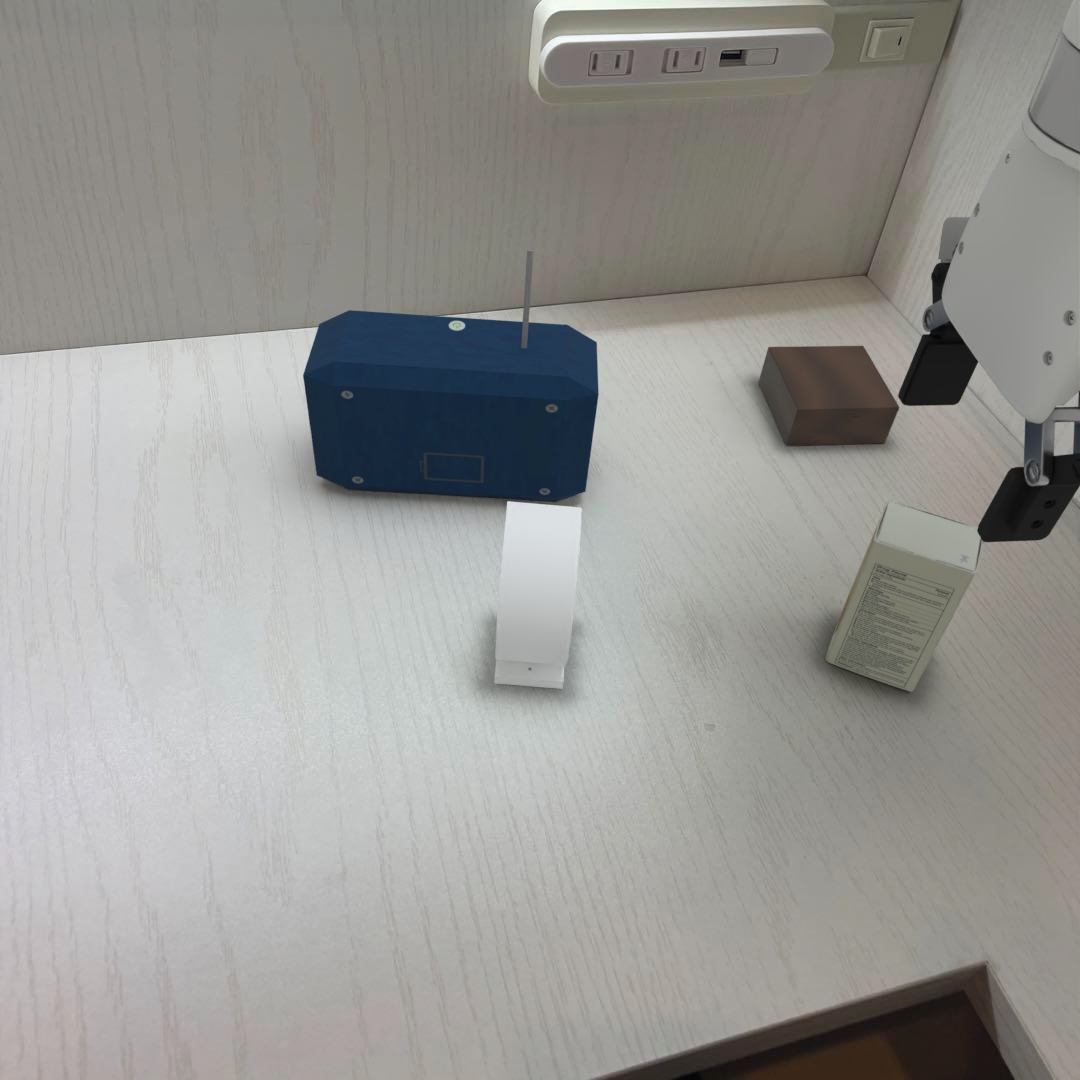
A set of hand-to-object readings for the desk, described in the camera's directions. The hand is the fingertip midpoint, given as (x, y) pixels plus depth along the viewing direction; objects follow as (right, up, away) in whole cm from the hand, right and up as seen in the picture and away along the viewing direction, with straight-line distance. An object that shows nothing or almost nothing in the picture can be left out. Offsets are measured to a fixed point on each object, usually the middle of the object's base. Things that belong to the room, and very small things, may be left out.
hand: (965, 464), depth 47 cm
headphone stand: (-21, -12, +19) cm, 31 cm away
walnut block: (+5, +8, +40) cm, 41 cm away
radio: (-27, +2, +32) cm, 42 cm away
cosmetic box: (+3, -12, +21) cm, 24 cm away
